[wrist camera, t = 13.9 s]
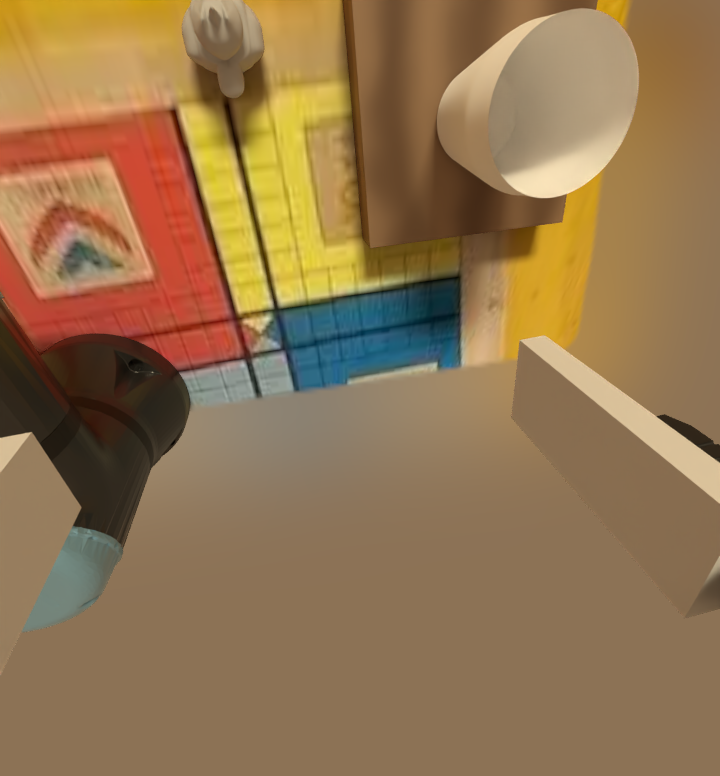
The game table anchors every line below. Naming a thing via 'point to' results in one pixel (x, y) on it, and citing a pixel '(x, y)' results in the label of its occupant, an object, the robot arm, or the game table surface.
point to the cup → (543, 104)
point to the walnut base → (428, 116)
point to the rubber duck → (223, 40)
